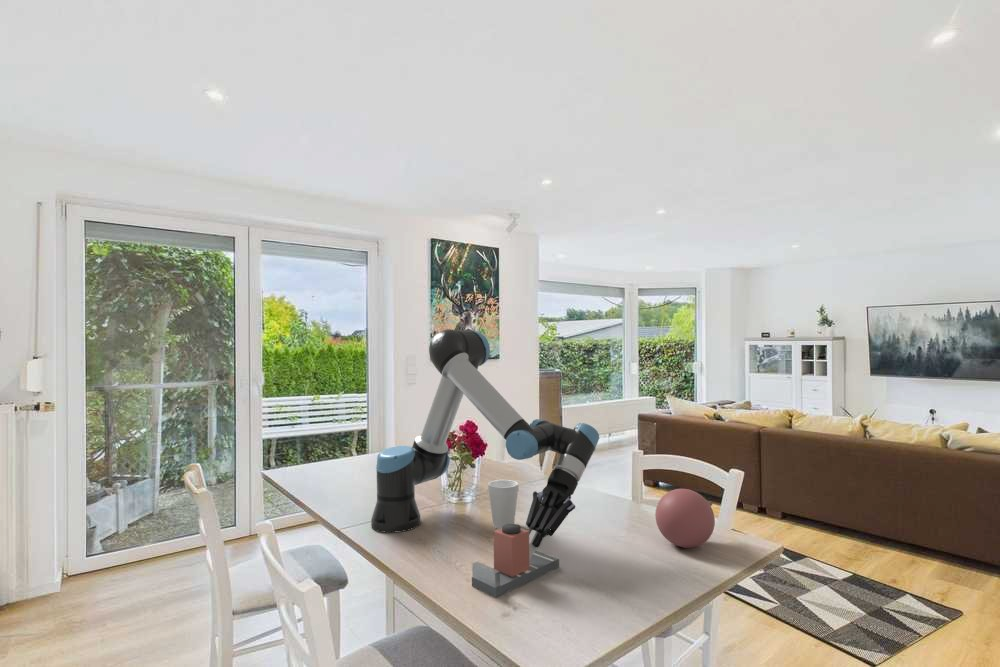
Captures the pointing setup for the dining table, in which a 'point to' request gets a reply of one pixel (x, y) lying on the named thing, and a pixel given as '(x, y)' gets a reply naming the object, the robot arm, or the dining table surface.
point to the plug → (511, 550)
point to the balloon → (685, 518)
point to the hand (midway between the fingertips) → (524, 557)
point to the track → (502, 583)
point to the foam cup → (503, 501)
